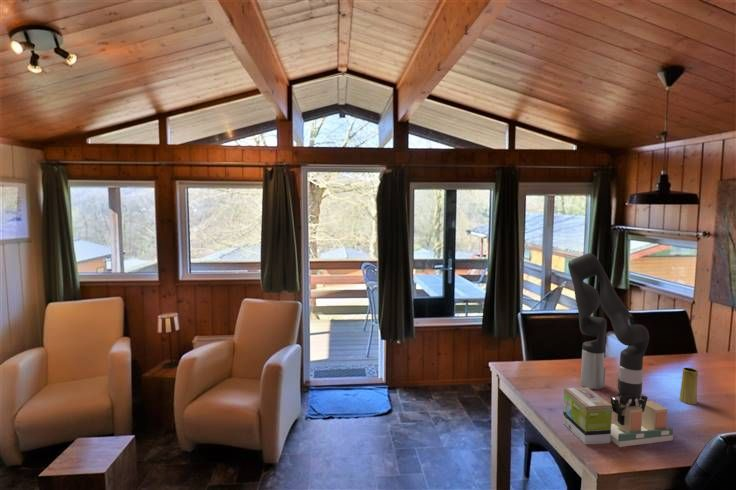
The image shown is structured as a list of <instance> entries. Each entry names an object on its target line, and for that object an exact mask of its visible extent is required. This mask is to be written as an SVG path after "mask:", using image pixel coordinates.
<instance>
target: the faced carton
mask: <svg viewBox="0 0 736 490" xmlns="http://www.w3.org/2000/svg"><path fill="white" fill-rule="evenodd" d="M641 406H642V405H641ZM641 406H640V407H641ZM667 417H668V408H666V407H664V406H662V405H661V404H659V403H657V402H655V401H653V400H647V402H646V406H645V409H644V412H642V425H641V426H642V427H644V428H645V429H647V430H656V429H664V428H667Z"/></svg>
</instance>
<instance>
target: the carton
mask: <svg viewBox="0 0 736 490" xmlns="http://www.w3.org/2000/svg"><path fill="white" fill-rule="evenodd" d="M621 405H622V406H623V407H625V406H624V405H623V404H621ZM621 411H622V408H621ZM624 416H625V418H624V425H621V424H619V423H618V421H617V418H618V414H617V413H615V412H614V421H613V422H614V423H613V424H614V425H616V426H617V427H619V428H620V429H622V430H623V431H625V432H626V433H630V432H639V431H641V425H642V408H640V407H636V406H630V407H629V408H626V410H625V415H624Z"/></svg>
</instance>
